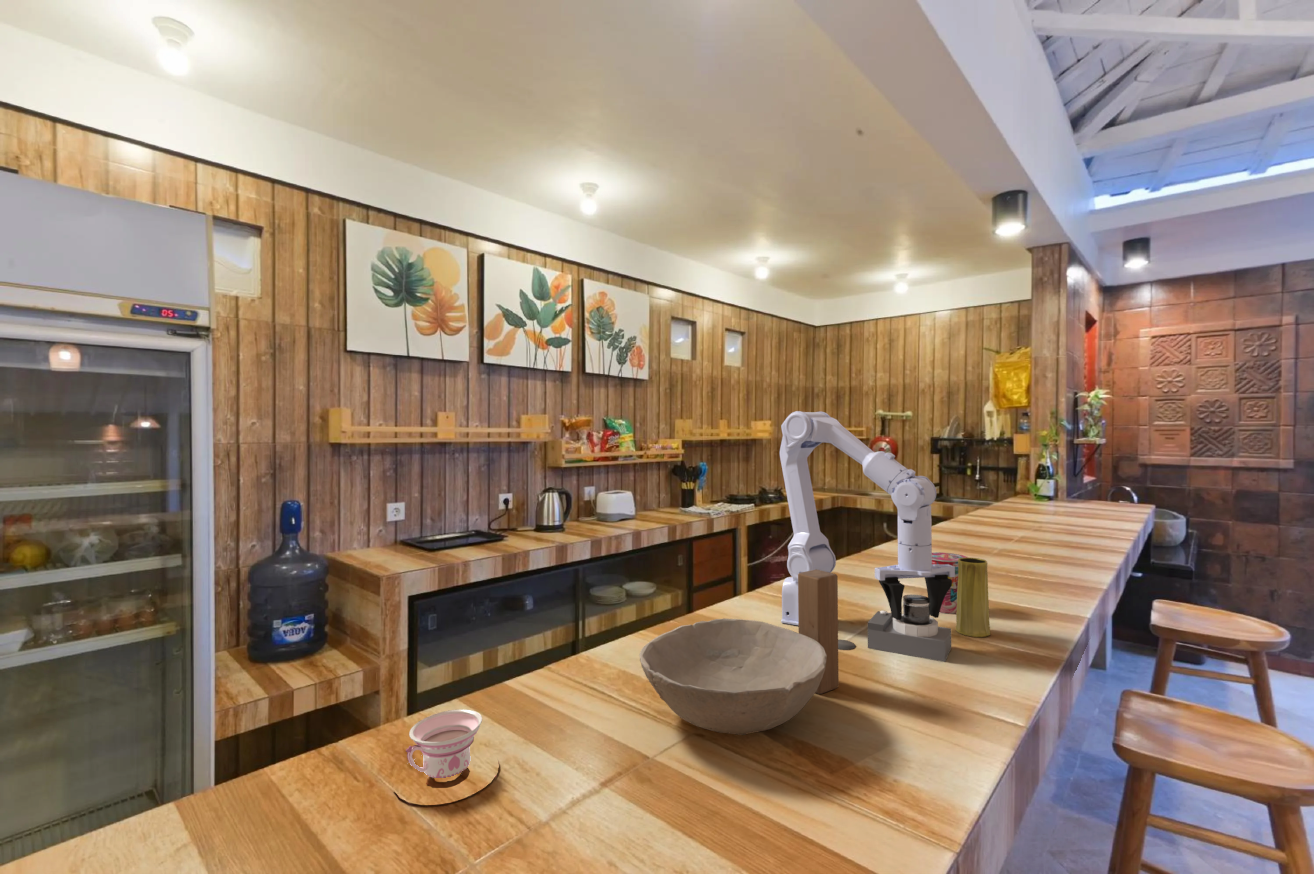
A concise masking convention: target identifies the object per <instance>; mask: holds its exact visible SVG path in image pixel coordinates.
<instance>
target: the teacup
mask: <svg viewBox="0 0 1314 874" xmlns="http://www.w3.org/2000/svg"><path fill="white" fill-rule="evenodd" d="M482 722H483V716H482V715H481V714H480V713H479V712H478V711H476V710H473V709H463V708H462V709H451V710H445V711H441V712H436V713H434V714H430V715H429V716H427V717H424V718H423V719H421V720H419V721H417V722H416V723H415V724H414V725H413V726H412V727H411V728H410V730H409V732H408V734H409V735H408V736H409V738H410V740H412V741H413V742H414V745H409V746H408V747H407V748H406V749H405V752H407V753H406V758H407V761H408V763H410V765H411V766H413V767H414V768H415V769H417V770H418V771H420V772H424V773H425V774H426V775H428V777H430V778H432V779H433V778H446V777H451V776H454V775H456V774H459V773H461V772H462V771H463V772H465V770H467V767H468V766H469V764H470V761H471V756H470V746H471V745H472V744H473V743H474V740H475V735H476V734H477V733H478V731H479V729H480V727H481V724H482ZM415 751H420V752H421V753H422V755H423V767H419V766H418V765H416V764H415V762H414V760H415V759H413V753H414V752H415ZM463 772H462V773H463Z"/></svg>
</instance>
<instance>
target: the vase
mask: <svg viewBox="0 0 1314 874" xmlns="http://www.w3.org/2000/svg"><path fill="white" fill-rule="evenodd" d="M988 577H989V576H988V561H987V560H986V559H984V558H979V557H978V558H977V557H969V558H959V559H958V587H957V612H956V613H955V614H956V616H955V617H956V619H955V621H956V622H955V623H956V624H955V631H956V632H957V633H958V634H961V635H964V636H965V637H974V638H986V637H989V636H990V635H991V628H990V627H991V626H990V608H989V605H990V604H989V601H990V600H989V578H988Z"/></svg>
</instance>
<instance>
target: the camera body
mask: <svg viewBox="0 0 1314 874" xmlns="http://www.w3.org/2000/svg"><path fill="white" fill-rule="evenodd" d="M867 648H868V649H870V650H871V649H872V650H878V651H884V652H889V653H895V654H898V655H899V654H900V655H904V656H911V657H916V658H923V659H927V660H931V661H932V660H933V661H938V662H942V663H943V662H944V663H946V661H947V659H948V656H949V654H950V652H951V649H952V628H951V627H945V626H944V627H943V626H939V621H938V620H937V619H936V618H934V617H932V616H930V624H928V625H913V624H907V623H904V620H903V613H902V617H901V620H897V619H895V618H893V617H892V614H891V612H887V611H886V610H880V611H877V612H875V613H874V615H873V616H872V617H871V618H870V619H869V620H868V621H867Z"/></svg>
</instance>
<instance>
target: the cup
mask: <svg viewBox="0 0 1314 874" xmlns="http://www.w3.org/2000/svg"><path fill="white" fill-rule="evenodd" d="M959 558H970V557H968V556H966V555H963V554H960V553H958V554H957V553H951V552H932V564H940V565H945V564H949V565H951V566H954V567H955V577H948V579H951V580H952V586H951V587H950V589H949V590H948V592H947V594H946V596H945V598H944V600H943V603H942V606H941V609H940V613H942V614H950V615H952V614H956V612H957V587H958V559H959Z"/></svg>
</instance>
